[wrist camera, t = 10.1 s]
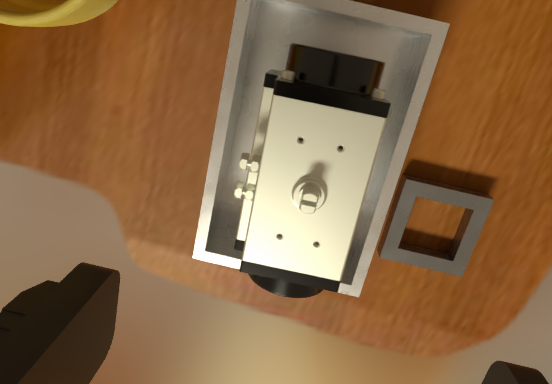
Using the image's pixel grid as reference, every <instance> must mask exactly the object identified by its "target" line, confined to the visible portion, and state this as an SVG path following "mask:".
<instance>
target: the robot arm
mask: <svg viewBox="0 0 552 384" xmlns="http://www.w3.org/2000/svg"><path fill="white" fill-rule="evenodd" d="M119 284H120V273H119V271H117V270H113V269H109V268H104V267H100V266H96V265H91V264H88V263H80V264H79V265H77V266H76V267H75V268H74V269H73V270H72V271H71V272H70V273H69V274H68V275H67V276H66V277H65V278H64V279H63V280H62V281H61V282H60V283H58V282H54V281H49V280H47V281H45V282H43V283H41V284H38V285H36V286H34V287H32V288H30V289H27V290H25V291H23V292H21V293H20V294H19V295H18V296H17V297H15V298H14V299H13V300H12V301H11V302H10V303H8V304H7V305H6V306H5V307H4V308H3V309H2V311H1V313H0V384H89V383H90V381H91V380H92V378H93V377H94V375H95V374H96V372H97V371H98V369H99V368H100V366H101V364H102V363H103V361H104V360H105V358H106V356H107V353H108V351H109V349H110V346H111V343H112V339H113V336H114V330H115V322H116V312H117V303H118V293H119ZM482 384H549V383H548V382H547V381H546V379H545V378H544V376H543V375H542V374H541V372H539V371H538V370H536V369H533V368H529V367H524V366H520V365H516V364H512V363H507V362H503V361H496V362H494V363H493V364H492V365H491V366H490V368H489V370H488V372H487V374H486V376H485V378H484V380H483V382H482Z"/></svg>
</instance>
